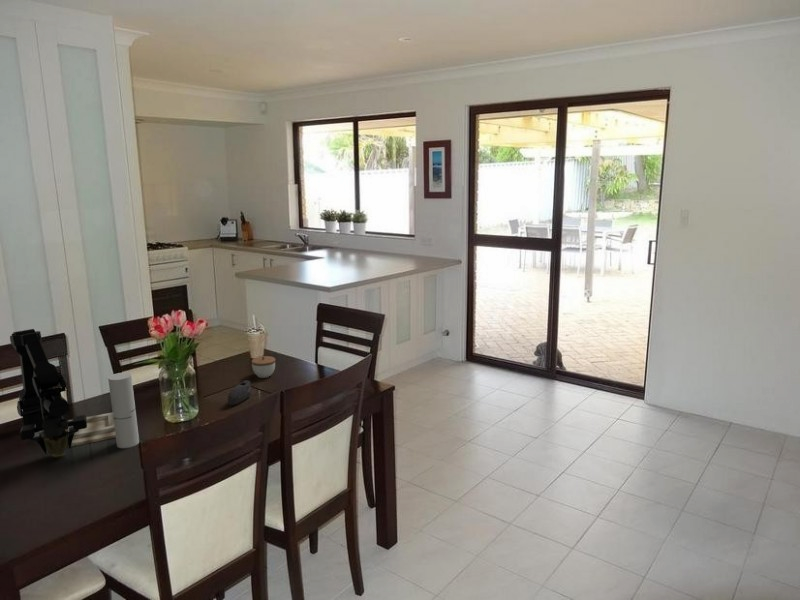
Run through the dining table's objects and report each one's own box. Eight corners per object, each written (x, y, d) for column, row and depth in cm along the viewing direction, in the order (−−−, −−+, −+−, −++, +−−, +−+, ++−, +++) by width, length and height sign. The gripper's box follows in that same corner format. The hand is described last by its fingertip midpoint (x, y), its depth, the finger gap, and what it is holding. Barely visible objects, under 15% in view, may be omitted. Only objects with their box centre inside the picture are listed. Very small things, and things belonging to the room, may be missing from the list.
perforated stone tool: (234, 409, 227) (232, 392, 225) (223, 407, 228) (221, 391, 227) (255, 395, 241) (254, 380, 239) (245, 393, 242) (243, 378, 241)
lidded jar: (273, 379, 258) (272, 360, 256) (249, 379, 259) (248, 360, 257) (278, 371, 269) (277, 352, 267) (256, 371, 269) (254, 352, 267)
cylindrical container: (143, 440, 201) (136, 373, 195) (128, 449, 194) (119, 380, 188) (127, 437, 203) (119, 371, 197) (112, 446, 196) (103, 378, 191)
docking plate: (56, 449, 194) (55, 442, 194) (59, 424, 213) (58, 418, 213) (127, 435, 204) (126, 428, 204) (124, 413, 223) (123, 407, 223)
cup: (45, 463, 185) (41, 441, 183) (46, 454, 191) (43, 432, 189) (71, 458, 188) (68, 436, 186) (72, 449, 195) (69, 427, 193)
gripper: (14, 422, 175) (22, 468, 178) (83, 410, 183) (89, 454, 187) (18, 409, 184) (26, 453, 188) (83, 398, 193) (89, 440, 196)
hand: (58, 450), depth 189 cm, fingers closed on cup, 6 cm apart
